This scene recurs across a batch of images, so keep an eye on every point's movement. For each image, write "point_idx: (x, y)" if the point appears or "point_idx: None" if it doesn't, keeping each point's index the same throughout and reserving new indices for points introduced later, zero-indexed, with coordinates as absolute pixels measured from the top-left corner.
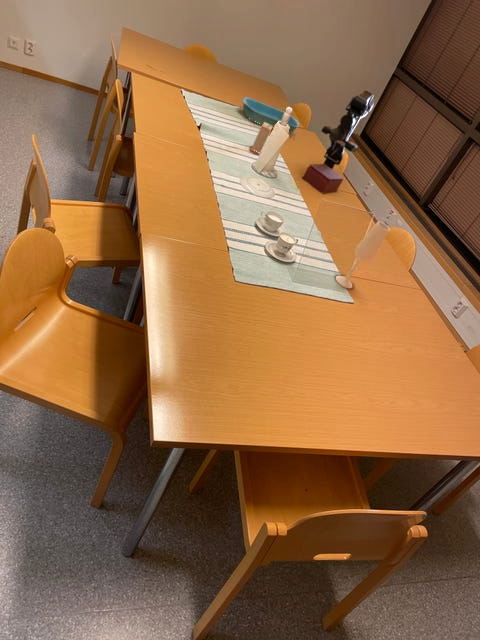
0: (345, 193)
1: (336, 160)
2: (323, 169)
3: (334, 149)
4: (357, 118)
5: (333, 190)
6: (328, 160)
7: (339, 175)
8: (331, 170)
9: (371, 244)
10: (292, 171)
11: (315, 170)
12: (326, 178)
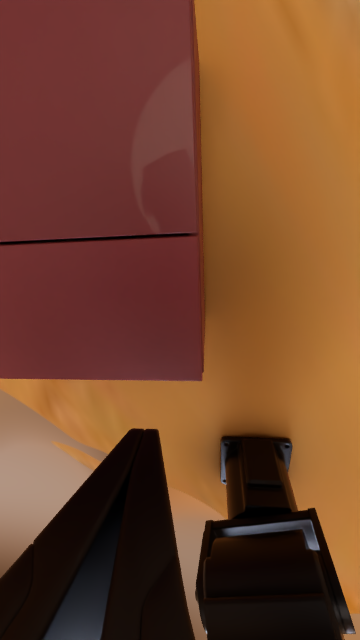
0: None
1: (216, 540)
2: (81, 215)
3: (37, 564)
4: None
5: None
6: (268, 507)
7: (12, 367)
8: (86, 349)
9: None
10: (320, 19)
11: None
12: (54, 239)
